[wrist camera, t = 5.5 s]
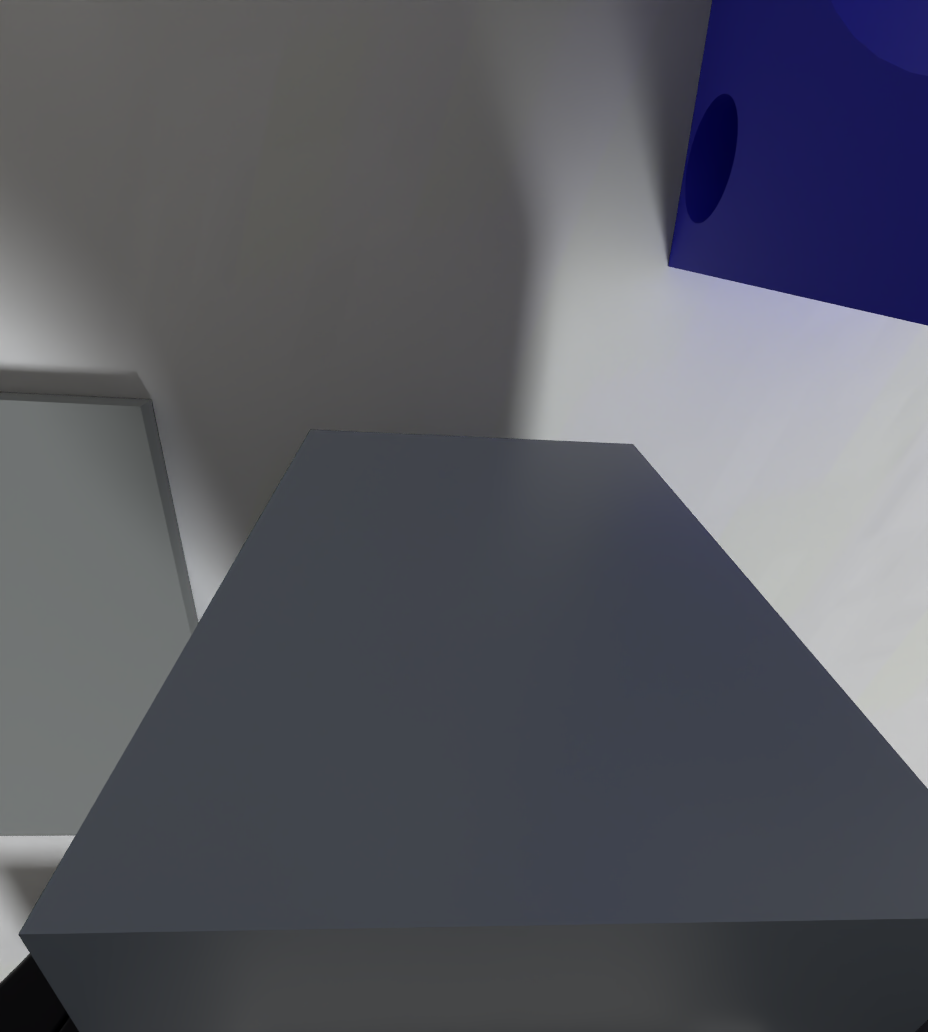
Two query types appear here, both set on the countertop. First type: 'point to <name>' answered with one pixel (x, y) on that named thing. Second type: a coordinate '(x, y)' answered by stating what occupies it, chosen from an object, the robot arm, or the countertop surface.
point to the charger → (492, 778)
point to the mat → (81, 598)
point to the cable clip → (812, 153)
